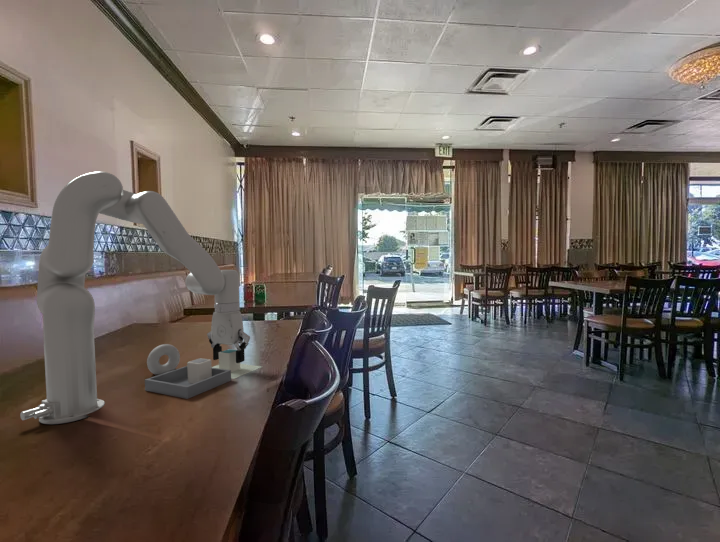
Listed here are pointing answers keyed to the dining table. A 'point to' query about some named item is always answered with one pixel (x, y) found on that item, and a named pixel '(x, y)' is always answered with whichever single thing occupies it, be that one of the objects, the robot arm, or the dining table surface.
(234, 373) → the sage board
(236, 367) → the teal label box
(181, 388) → the parts bin
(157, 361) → the donut
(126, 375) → the dining table surface
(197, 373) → the grey label box
